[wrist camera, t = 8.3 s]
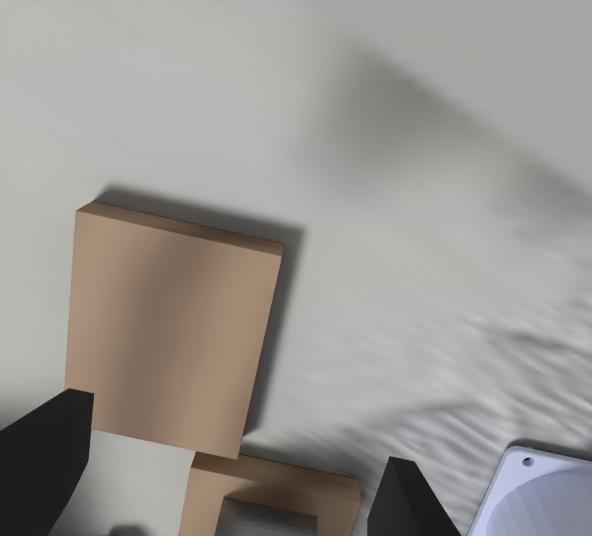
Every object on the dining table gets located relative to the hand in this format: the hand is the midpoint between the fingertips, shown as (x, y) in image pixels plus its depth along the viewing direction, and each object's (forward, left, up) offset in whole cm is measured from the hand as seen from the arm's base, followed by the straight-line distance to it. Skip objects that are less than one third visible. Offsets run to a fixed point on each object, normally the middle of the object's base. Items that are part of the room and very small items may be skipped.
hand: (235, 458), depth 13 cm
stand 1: (+4, +3, -10) cm, 12 cm away
